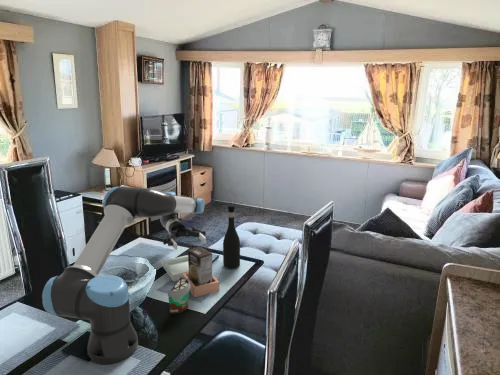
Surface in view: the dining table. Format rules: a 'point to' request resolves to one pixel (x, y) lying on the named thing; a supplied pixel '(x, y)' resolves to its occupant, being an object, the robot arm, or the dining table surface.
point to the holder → (203, 286)
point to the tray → (176, 267)
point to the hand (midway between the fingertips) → (191, 243)
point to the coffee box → (200, 266)
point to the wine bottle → (231, 243)
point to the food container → (179, 296)
